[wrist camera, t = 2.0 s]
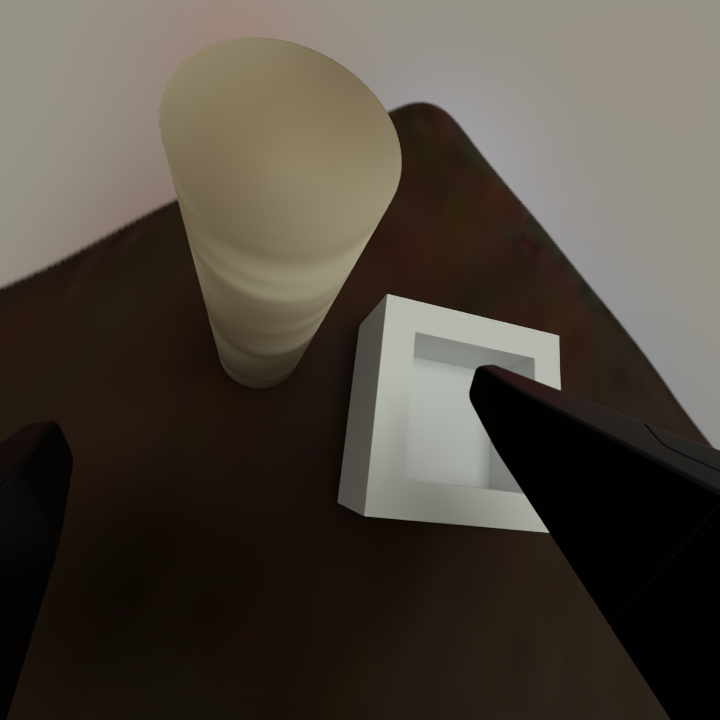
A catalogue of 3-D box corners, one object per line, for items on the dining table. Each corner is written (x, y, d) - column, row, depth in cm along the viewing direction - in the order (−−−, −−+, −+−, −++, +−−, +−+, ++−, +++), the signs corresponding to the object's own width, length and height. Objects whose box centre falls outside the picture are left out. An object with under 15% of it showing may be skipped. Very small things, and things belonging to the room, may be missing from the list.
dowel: (310, 332, 20) (426, 114, 7) (281, 400, 19) (359, 282, 6) (239, 300, 20) (228, -1, 7) (204, 369, 18) (105, 162, 5)
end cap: (501, 518, 21) (565, 533, 17) (337, 502, 19) (364, 516, 14) (503, 356, 24) (558, 335, 19) (359, 325, 21) (387, 294, 17)
